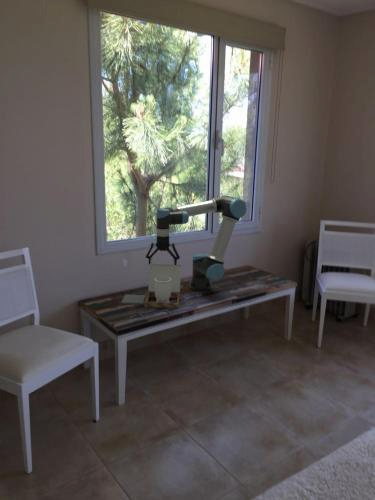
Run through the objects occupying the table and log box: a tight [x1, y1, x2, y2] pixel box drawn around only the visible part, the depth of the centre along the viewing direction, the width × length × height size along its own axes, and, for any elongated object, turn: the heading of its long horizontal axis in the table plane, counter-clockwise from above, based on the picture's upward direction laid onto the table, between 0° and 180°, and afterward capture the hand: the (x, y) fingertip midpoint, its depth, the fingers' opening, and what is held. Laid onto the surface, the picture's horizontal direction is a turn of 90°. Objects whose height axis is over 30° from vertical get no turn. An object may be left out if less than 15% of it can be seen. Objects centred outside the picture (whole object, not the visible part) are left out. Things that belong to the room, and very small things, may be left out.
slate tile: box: [120, 294, 147, 306], centre depth 257 cm, size 13×13×1 cm
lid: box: [148, 263, 182, 293], centre depth 263 cm, size 20×17×1 cm
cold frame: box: [144, 291, 181, 309], centre depth 255 cm, size 20×17×3 cm
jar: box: [153, 276, 172, 302], centre depth 253 cm, size 11×10×15 cm
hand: (162, 269), depth 250 cm, fingers open, 13 cm apart
